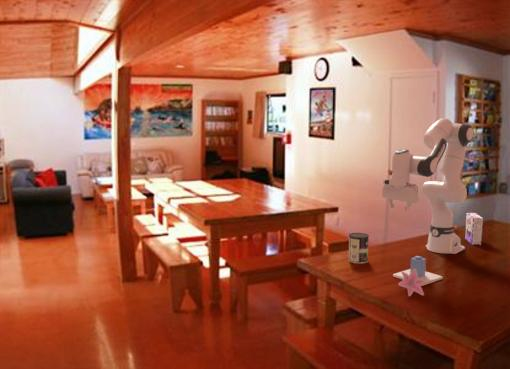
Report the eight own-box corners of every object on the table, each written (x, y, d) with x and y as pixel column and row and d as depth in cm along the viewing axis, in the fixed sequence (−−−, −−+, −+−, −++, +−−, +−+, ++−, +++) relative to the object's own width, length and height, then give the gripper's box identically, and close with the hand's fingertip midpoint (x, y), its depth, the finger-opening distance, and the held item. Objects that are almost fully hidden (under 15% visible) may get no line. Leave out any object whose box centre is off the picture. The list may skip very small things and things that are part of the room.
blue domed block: (416, 272, 235) (417, 254, 234) (425, 275, 231) (425, 257, 230) (410, 274, 232) (411, 256, 231) (418, 277, 228) (419, 259, 227)
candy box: (464, 238, 301) (466, 212, 298) (474, 239, 300) (476, 212, 297) (471, 244, 287) (472, 217, 285) (481, 245, 286) (483, 217, 284)
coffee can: (367, 258, 262) (368, 232, 260) (368, 264, 252) (369, 237, 250) (348, 257, 264) (348, 232, 262) (348, 263, 254) (348, 237, 252)
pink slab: (413, 270, 243) (414, 256, 242) (442, 278, 230) (443, 264, 229) (392, 276, 234) (393, 262, 233) (421, 286, 221) (421, 270, 220)
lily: (392, 296, 211) (401, 281, 206) (393, 278, 221) (401, 263, 215) (419, 306, 210) (429, 291, 205) (419, 287, 220) (428, 272, 214)
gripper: (421, 183, 239) (420, 211, 241) (388, 179, 256) (387, 205, 258) (413, 185, 236) (412, 213, 238) (380, 180, 252) (379, 206, 254)
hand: (399, 208), depth 248 cm, fingers open, 8 cm apart
